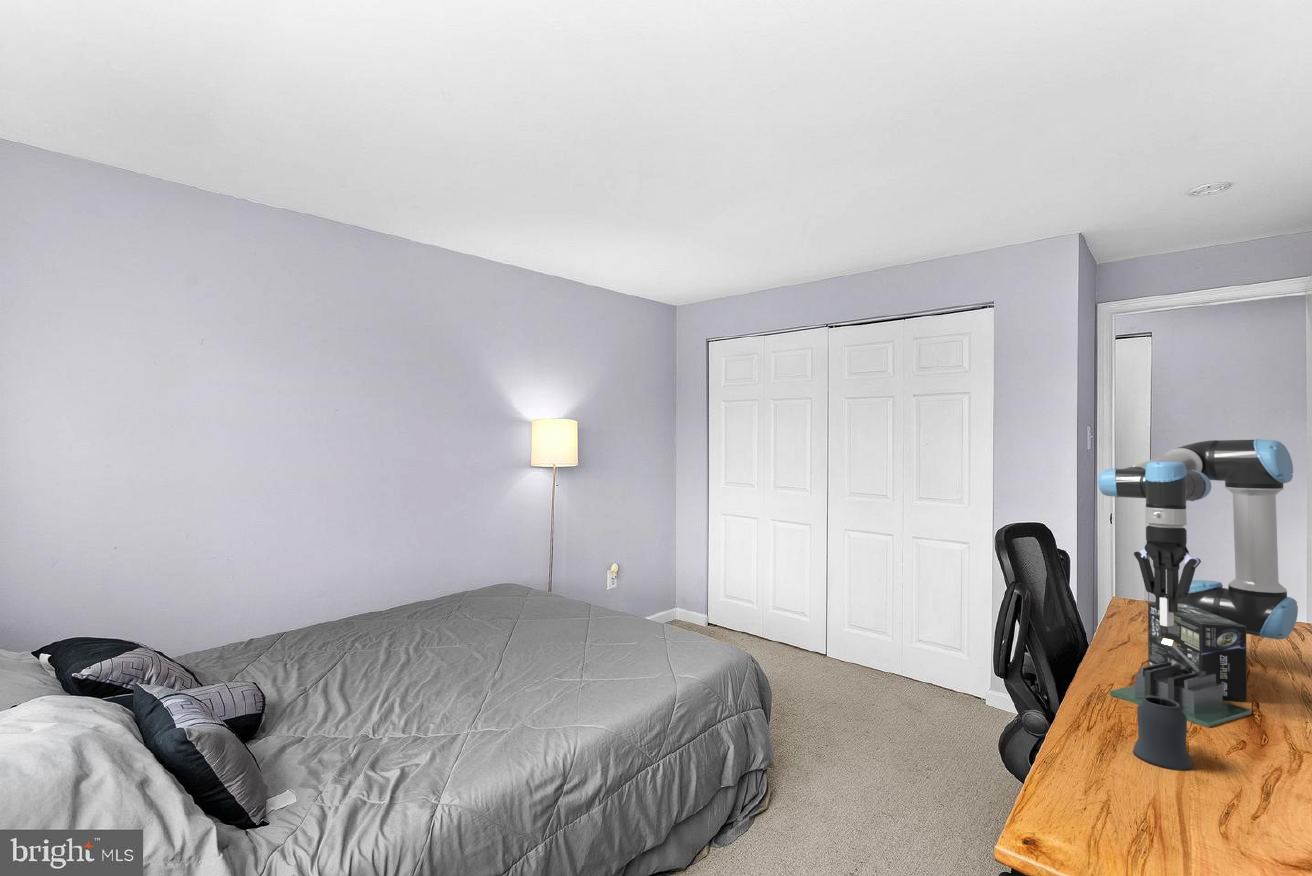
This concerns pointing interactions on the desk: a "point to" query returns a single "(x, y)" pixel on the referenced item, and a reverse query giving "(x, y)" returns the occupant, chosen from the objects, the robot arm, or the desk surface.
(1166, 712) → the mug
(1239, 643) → the box
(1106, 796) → the desk surface
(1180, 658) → the strap
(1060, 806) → the desk surface
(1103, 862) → the desk surface
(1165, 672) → the heatsink
